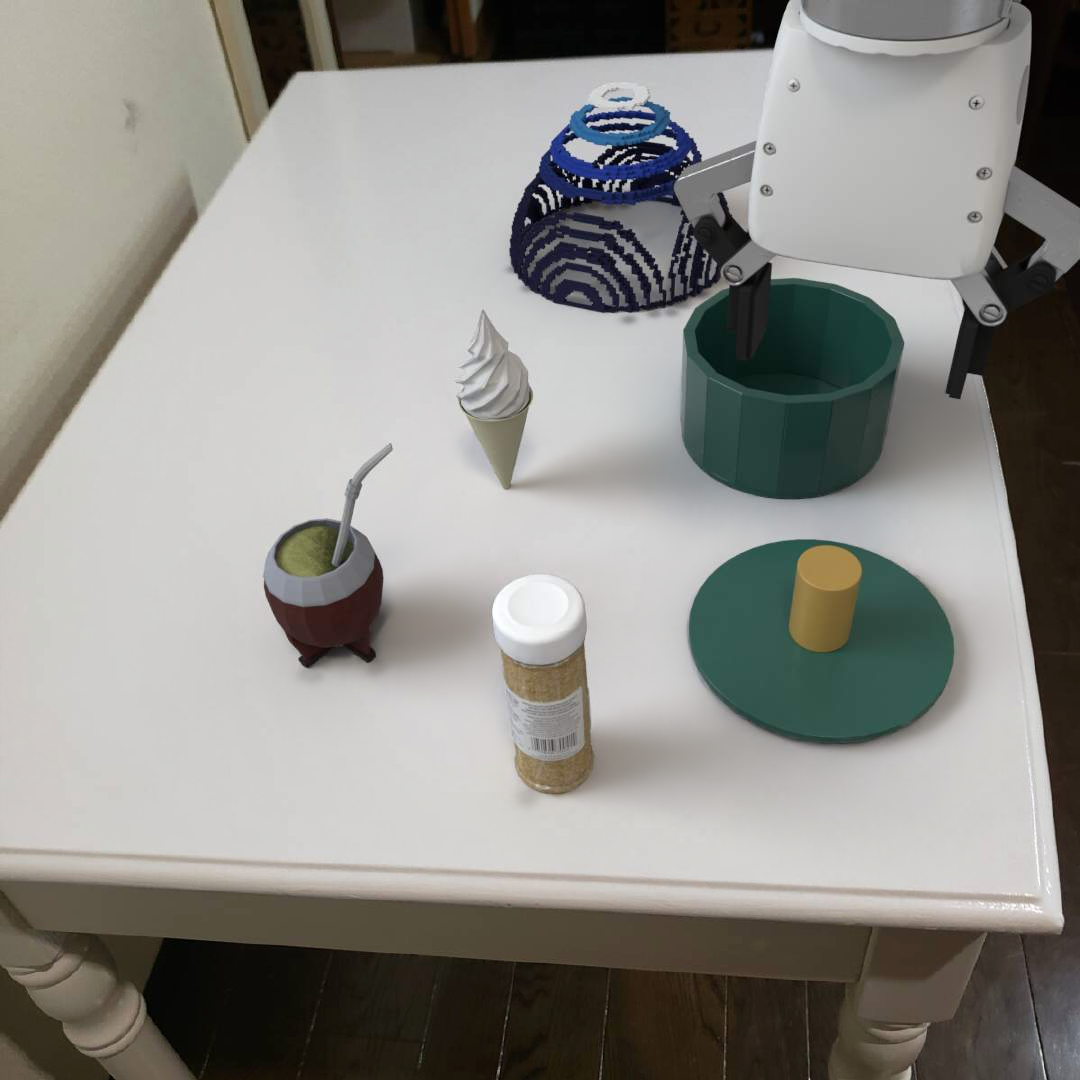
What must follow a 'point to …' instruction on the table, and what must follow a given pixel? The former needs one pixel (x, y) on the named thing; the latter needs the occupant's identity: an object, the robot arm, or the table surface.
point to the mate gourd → (327, 581)
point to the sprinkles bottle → (546, 680)
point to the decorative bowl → (640, 190)
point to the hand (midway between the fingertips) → (851, 362)
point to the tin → (791, 391)
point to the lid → (821, 641)
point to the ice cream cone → (495, 397)
